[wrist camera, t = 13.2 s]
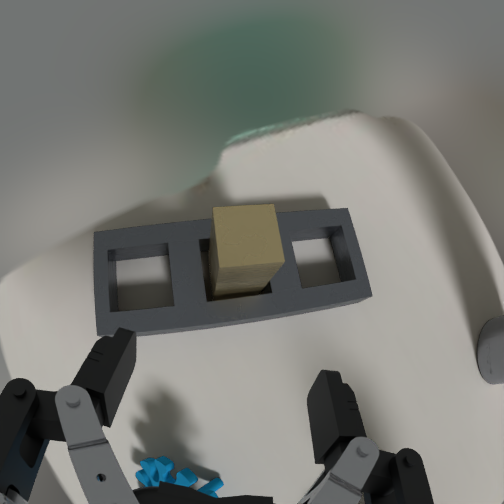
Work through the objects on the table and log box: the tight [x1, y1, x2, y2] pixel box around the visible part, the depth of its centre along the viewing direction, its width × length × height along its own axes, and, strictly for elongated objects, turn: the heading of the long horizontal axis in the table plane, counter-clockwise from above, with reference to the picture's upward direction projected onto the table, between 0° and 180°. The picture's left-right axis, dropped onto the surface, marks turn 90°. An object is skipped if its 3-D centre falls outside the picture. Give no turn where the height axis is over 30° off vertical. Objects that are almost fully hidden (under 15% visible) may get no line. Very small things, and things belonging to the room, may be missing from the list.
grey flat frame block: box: [94, 208, 372, 337], centre depth 27 cm, size 24×9×3 cm, turn 100°
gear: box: [136, 456, 224, 498], centre depth 19 cm, size 11×6×10 cm
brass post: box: [208, 204, 285, 301], centre depth 24 cm, size 4×4×10 cm
